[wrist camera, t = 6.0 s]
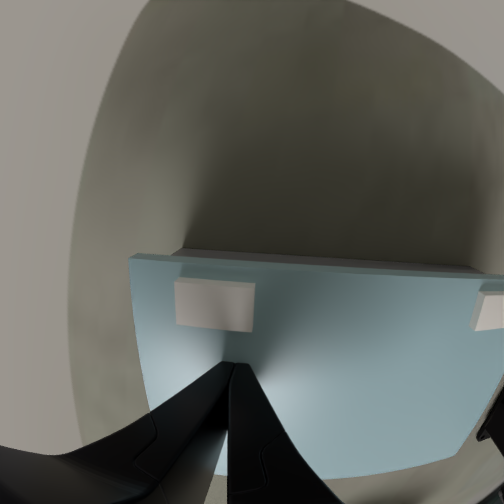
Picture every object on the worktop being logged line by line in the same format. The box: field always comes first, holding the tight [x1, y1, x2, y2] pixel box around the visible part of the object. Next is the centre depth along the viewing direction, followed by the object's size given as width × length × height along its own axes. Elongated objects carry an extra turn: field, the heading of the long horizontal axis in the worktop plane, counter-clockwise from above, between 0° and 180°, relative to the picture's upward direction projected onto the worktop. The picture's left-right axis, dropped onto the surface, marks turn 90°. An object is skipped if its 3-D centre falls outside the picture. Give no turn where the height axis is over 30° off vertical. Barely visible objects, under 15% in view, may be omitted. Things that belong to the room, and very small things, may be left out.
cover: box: [128, 253, 504, 479], centre depth 8 cm, size 14×9×1 cm
